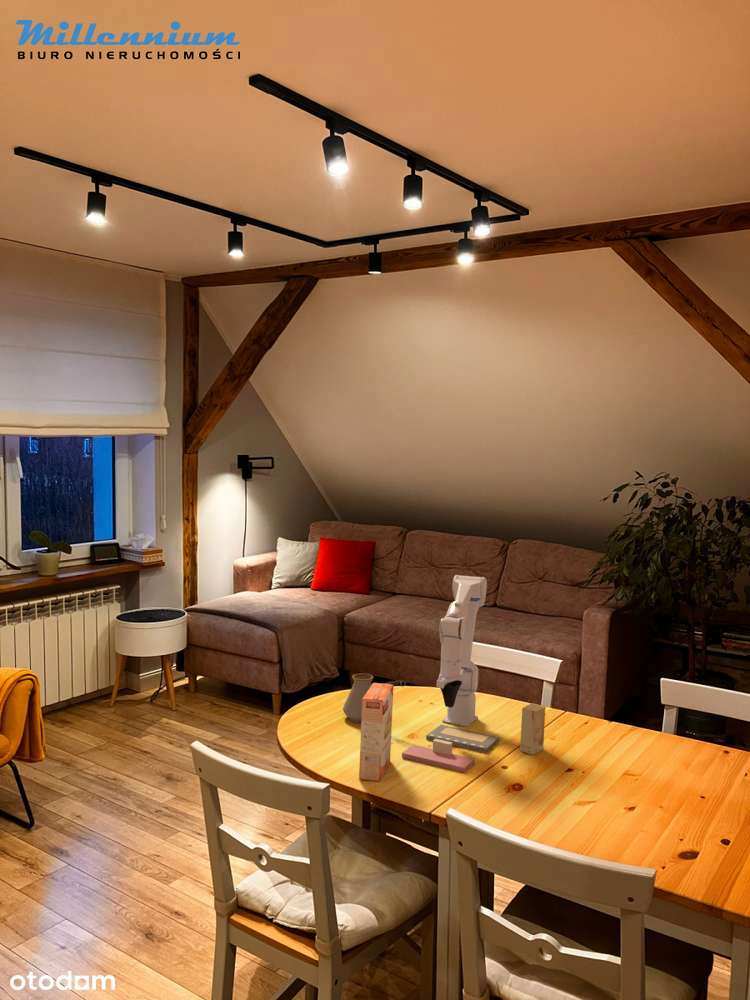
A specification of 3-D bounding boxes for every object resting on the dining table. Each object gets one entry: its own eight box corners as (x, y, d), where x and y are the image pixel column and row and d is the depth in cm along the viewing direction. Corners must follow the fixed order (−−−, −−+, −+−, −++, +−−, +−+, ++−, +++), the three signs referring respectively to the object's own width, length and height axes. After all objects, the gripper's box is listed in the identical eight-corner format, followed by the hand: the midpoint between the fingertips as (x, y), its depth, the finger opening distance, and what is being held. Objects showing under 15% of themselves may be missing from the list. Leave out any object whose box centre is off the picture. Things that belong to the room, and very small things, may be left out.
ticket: (440, 728, 240) (440, 723, 240) (498, 741, 232) (499, 736, 232) (426, 739, 232) (426, 734, 232) (486, 753, 223) (486, 748, 223)
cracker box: (381, 783, 203) (384, 700, 201) (358, 780, 204) (360, 698, 202) (392, 760, 216) (394, 683, 214) (369, 758, 217) (372, 681, 216)
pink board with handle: (413, 748, 225) (413, 733, 224) (474, 763, 216) (475, 747, 216) (401, 757, 218) (402, 741, 218) (464, 772, 210) (464, 756, 209)
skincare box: (533, 755, 222) (535, 711, 221) (519, 751, 225) (521, 708, 224) (544, 748, 227) (546, 705, 226) (530, 744, 230) (532, 702, 229)
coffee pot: (334, 718, 247) (335, 669, 245) (359, 708, 255) (360, 661, 254) (390, 736, 233) (392, 685, 232) (414, 725, 242) (416, 676, 241)
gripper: (453, 667, 223) (452, 716, 224) (474, 655, 235) (472, 701, 236) (430, 663, 226) (428, 711, 227) (451, 651, 239) (449, 697, 240)
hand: (449, 706), depth 232 cm, fingers closed
